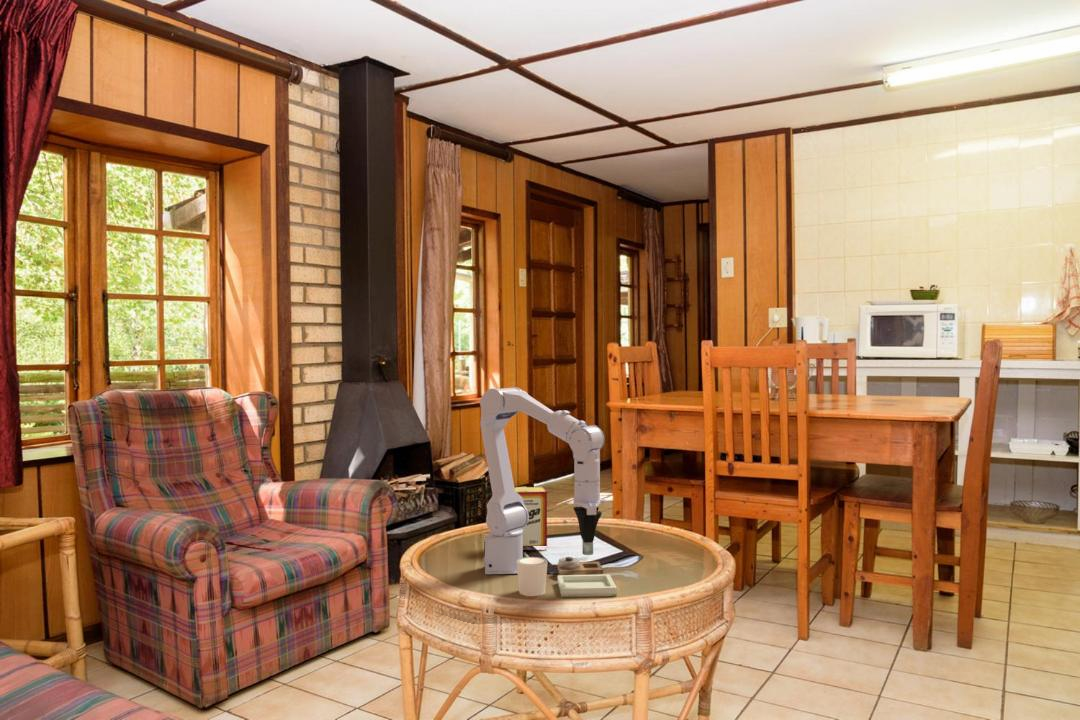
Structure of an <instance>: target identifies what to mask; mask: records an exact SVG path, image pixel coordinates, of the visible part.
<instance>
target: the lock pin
mask: <svg viewBox="0 0 1080 720" xmlns="http://www.w3.org/2000/svg"><path fill="white" fill-rule="evenodd" d="M581 540H582V541H581V543H582V555H584V556H592V555H594V541H593V542H590V543H584V542H583V538H581Z"/></svg>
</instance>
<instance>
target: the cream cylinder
mask: <svg viewBox="0 0 1080 720" xmlns="http://www.w3.org/2000/svg"><path fill="white" fill-rule="evenodd" d="M516 562H517V573H518V574H517V580H518V581H517V582H518V593H519V594H520V595H522V596H525V597H538V596H542V595H544V594H545V593H546V583H547V572H548V560H547V558H544V557H539V556H538V557H537V556H528V557H527V556H526V557H523V558H521V559H518V560H517V561H516Z"/></svg>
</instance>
